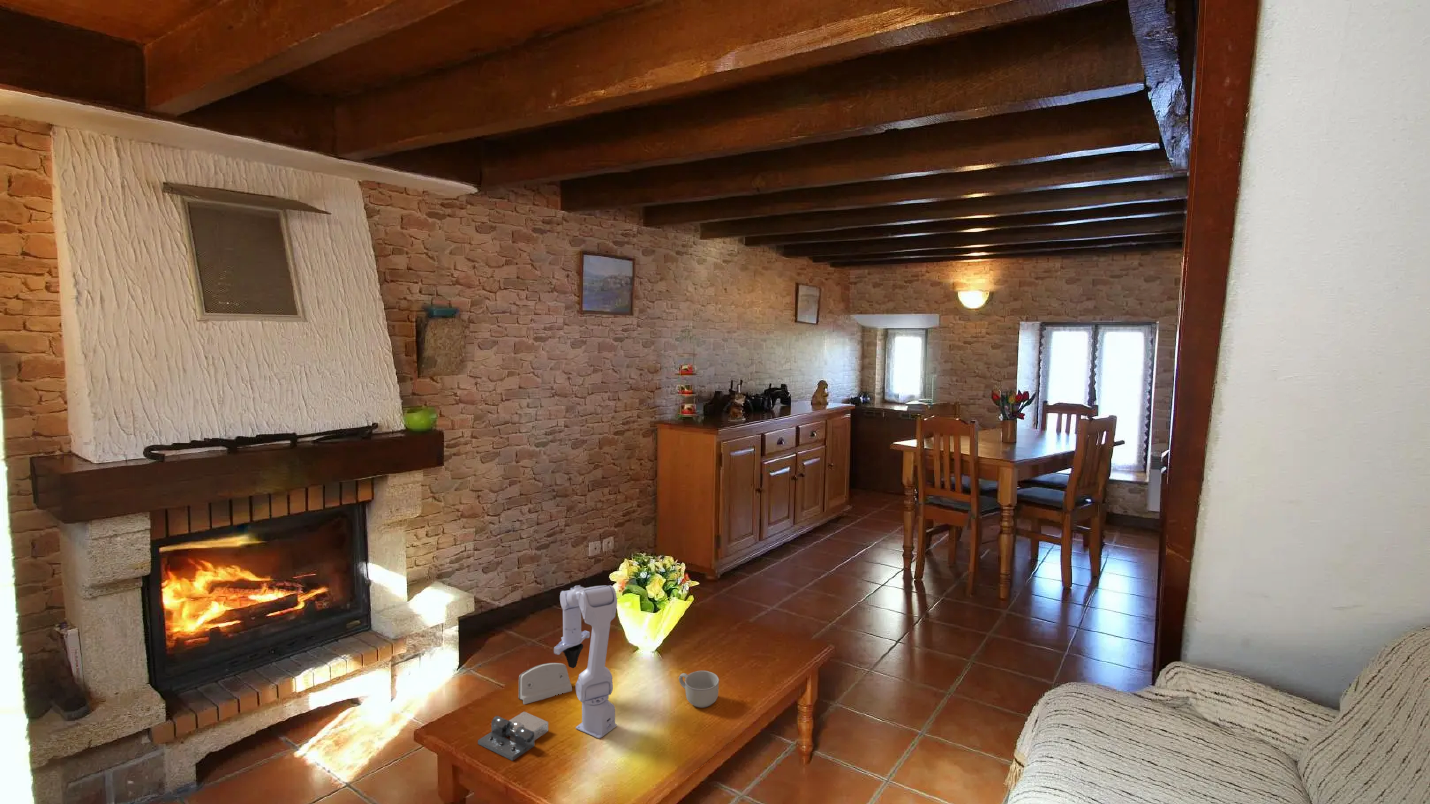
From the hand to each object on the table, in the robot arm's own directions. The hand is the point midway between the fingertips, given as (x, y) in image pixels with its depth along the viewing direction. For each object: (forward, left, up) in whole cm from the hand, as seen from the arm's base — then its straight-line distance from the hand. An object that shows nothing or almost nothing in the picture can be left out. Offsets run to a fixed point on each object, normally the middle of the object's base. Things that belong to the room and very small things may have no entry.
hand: (572, 666), depth 226 cm
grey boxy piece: (-3, +24, -9) cm, 26 cm away
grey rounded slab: (+8, +4, -10) cm, 14 cm away
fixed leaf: (-3, +30, -9) cm, 31 cm away
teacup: (-36, -19, -10) cm, 42 cm away
